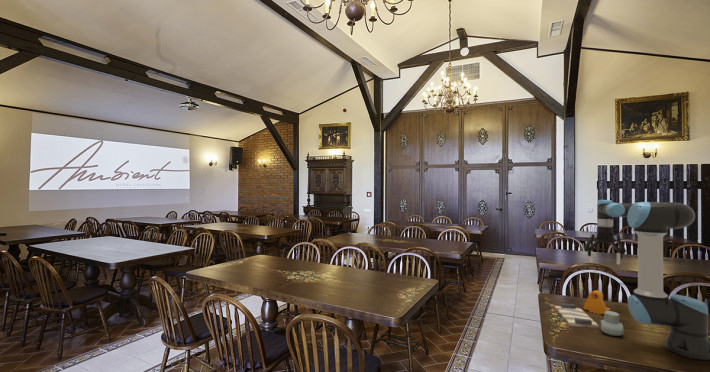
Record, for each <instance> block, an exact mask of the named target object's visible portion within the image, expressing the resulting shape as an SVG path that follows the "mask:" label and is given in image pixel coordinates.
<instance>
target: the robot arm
mask: <svg viewBox="0 0 710 372" xmlns="http://www.w3.org/2000/svg"><path fill="white" fill-rule="evenodd" d="M596 206H597V207H596V208H597V217H596V218H597V223H596V224H597V228H596V234H594V233H591V234H590V237H589V239H588V240H587V241H586V244H585V245H584V247H583V249H584V250H587V257H589V258H588V259H589V260H588V261H589V262H590V263H593V258H594V257H593V256H594V251H593V249H595V248H596V247H597V246H598V245H599V244H600V243H606V244H608V243H609V244H610V245H611V246H612V247H613V248H614V249H615V250H616V251H617V252H616V265H619V266H620V265H621V260H623V254H624V253H627V250H626V248H625V246H624V244H623V243H622V240H621V237H620V235H614V218H619V217H620V218H627V219H626V220H627V225H628V226H629V227H630V228H632V229H633V231H632V232H634V233H635V234H636V235H637V288H635V289H634V290H633V294H631V295H629V296H628V298H627V306H628V310H629V313H630V314H631V317H632V318H633V319H634V320H635V321H636V322H637V323H641V324H647V325H654V326H655V325H656V326H666V327H667V326H668V327H670V330H669V332H668V334H667V336H666V338H665V340H664V346H665V348H666V349H667V350H669V351H671V352H673V353H674V354H676V355H680V356H682V357H686V358H691V359H694V360H702V361H709V360H710V339H709V337H708V336H709V308H708V305H707V304H706V303H705V302H703V301H702V300H700V299H697V298H693V297H690V296H685V295H680V294H671V295H670V297H669V295H668V294H667V293H665V291H664V237H665V236H666V235H668V231H669V230H670V229H671V230H675V229H676V230H678V229H683V228H684V229H685V228H687V227H689V226H691V225H692V224H693V222H695V219H696V214H695V211H694V209H693V208H692V207H691V206H689V205H687V204H684V203H680V202H675V201H674V202H672V201H671V202H666V201H665V202H663V201H662V202H661V201H660V202H659V201H640V202H639V201H638V202H634V203H627V202H626V203H625V202H621V203H619V202H614V201H613V200H610V199H609V200H608V199H598V201H597V205H596ZM668 229H669V230H668ZM595 238H597V239H596V240H595V241H594V239H595ZM613 239H614V240H615V241H616V243H617V244H616V243H615V242H614V240H613ZM593 241H594V242H593Z"/></svg>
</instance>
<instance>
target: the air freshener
mask: <svg viewBox="0 0 710 372" xmlns="http://www.w3.org/2000/svg"><path fill="white" fill-rule="evenodd" d="M603 315H604V316H603V318H604V319H601V320H600V329H601V330H600V331H601V332H602V333H604V334H607V335H609V336H615V337H617V336H618V337H619V336H623V335H624V325H623V324H622V323H621V322H620V314H619V313H618V312H615V311H611V310H610V311H605V312H604V314H603Z"/></svg>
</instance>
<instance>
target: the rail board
mask: <svg viewBox="0 0 710 372" xmlns="http://www.w3.org/2000/svg"><path fill="white" fill-rule="evenodd" d="M554 309H555V310H556V311H557V312H558V313H559V315H560V316H561V317H562V319H564V320H565V322H566V323H567V324H568V325H569V326H571V327H581V328H582V327H583V328H592V329H599V328H600V325H599V324H597V322H596V321H595V320H594V319H592V317H590V316H589V315H588V314H587V313H586V312H585V311H584V309H582V308H581V307H577V306H576V304H574V303H563V302H562V303H560V306H559V305H554Z"/></svg>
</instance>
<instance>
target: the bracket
mask: <svg viewBox="0 0 710 372" xmlns="http://www.w3.org/2000/svg"><path fill="white" fill-rule="evenodd" d="M583 310H586V311H588V312H589V313H592V312H593V314H596V313H597V314H596V315H600V314H601V315H604V312H605V311H611V308H609V307H607V305H606V304H605V301H604V293H603V292H602V291H600V290H593V291H590V292H589V295H588V296H587V298H586V300H585V302H584V305H583Z"/></svg>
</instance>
